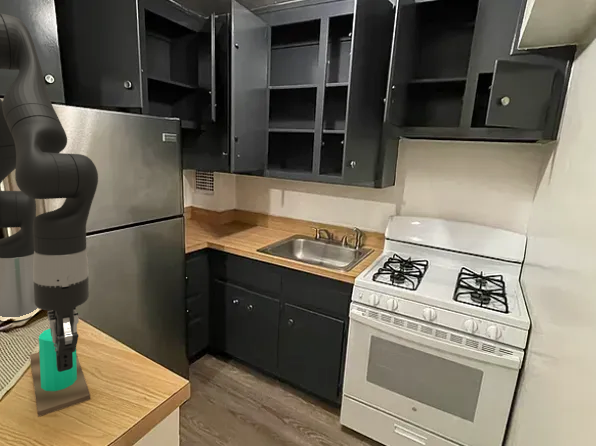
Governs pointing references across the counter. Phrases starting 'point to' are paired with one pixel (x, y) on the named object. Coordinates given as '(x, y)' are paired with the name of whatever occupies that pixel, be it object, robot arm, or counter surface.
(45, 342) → the candle
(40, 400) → the board
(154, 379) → the counter surface
